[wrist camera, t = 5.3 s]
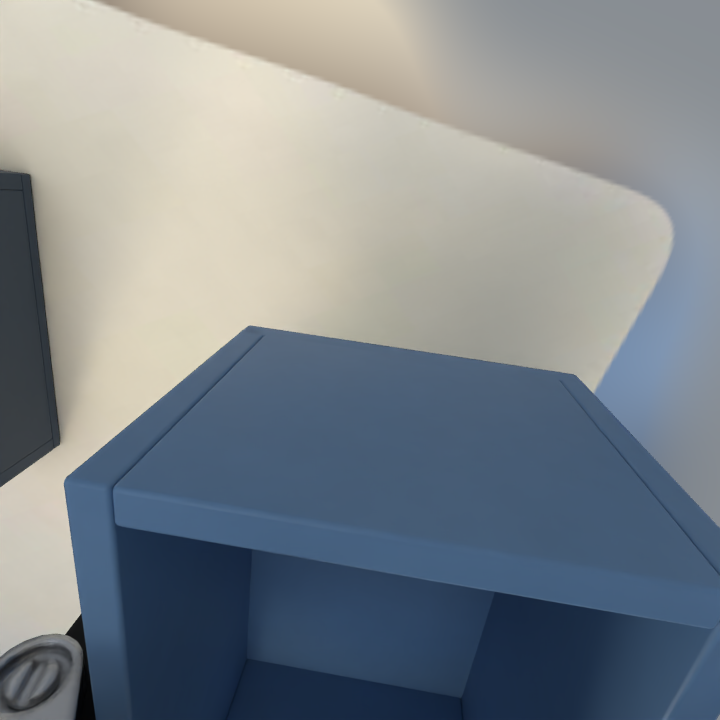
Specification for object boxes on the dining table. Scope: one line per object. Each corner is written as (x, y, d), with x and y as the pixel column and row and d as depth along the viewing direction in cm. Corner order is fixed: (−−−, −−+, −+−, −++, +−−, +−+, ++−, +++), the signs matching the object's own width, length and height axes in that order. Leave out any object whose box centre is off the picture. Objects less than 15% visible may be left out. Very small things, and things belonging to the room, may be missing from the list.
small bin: (248, 324, 10) (60, 478, 4) (575, 373, 9) (795, 603, 4) (236, 647, 13) (124, 944, 8) (472, 690, 13) (518, 1030, 8)
